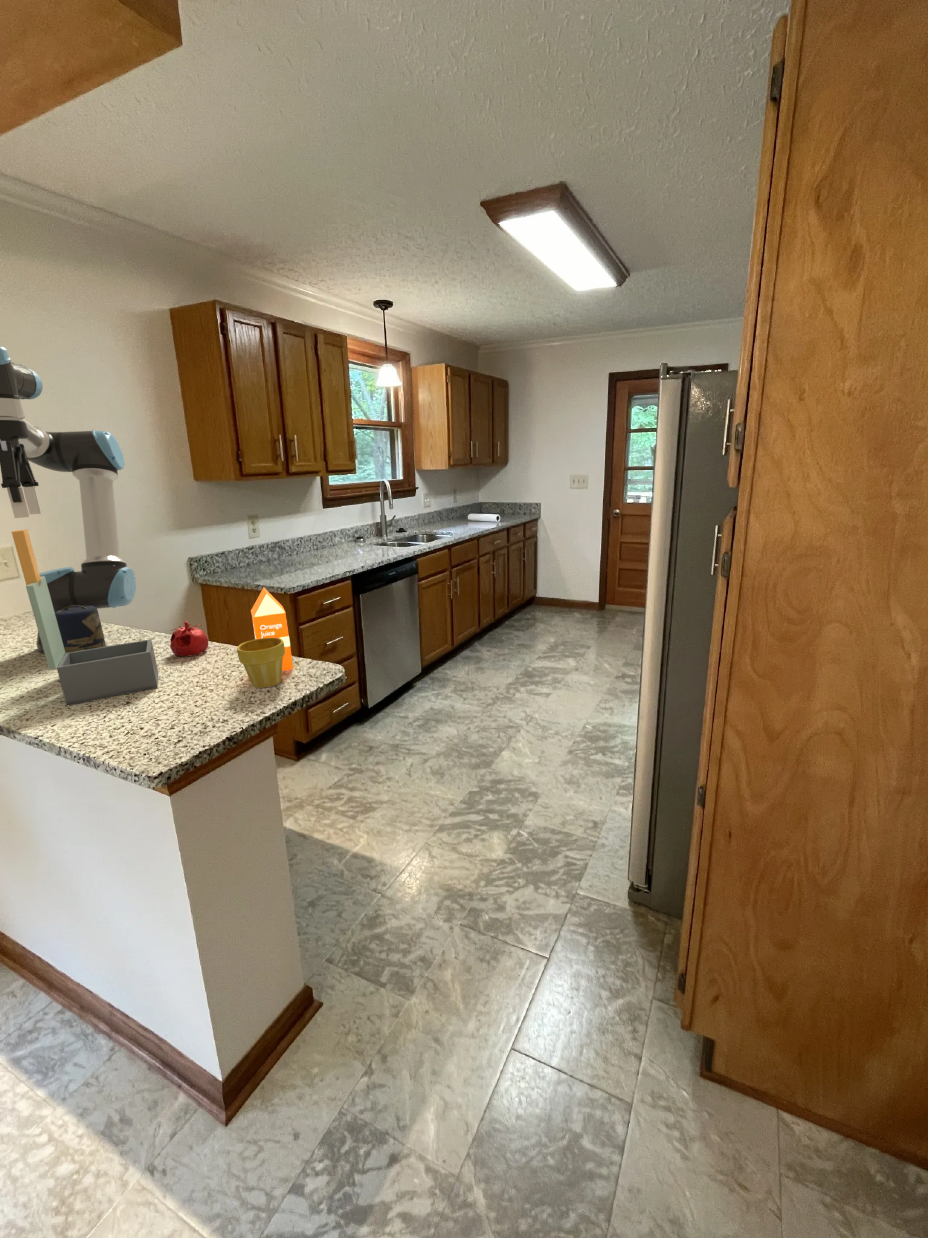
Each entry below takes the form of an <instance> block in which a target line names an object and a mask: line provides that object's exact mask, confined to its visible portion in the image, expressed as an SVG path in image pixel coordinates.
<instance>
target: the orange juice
mask: <svg viewBox="0 0 928 1238" xmlns="http://www.w3.org/2000/svg"><path fill="white" fill-rule="evenodd" d="M250 613H251V619H252V625H253V632H254V639H259V638H268V637H275V638H280V639H282V640H283V641H284V647H285V655H284V656H283V665H282V670H283V671H287V670H293V669H294V664H293V656H292V651H291V650H292V649H291V641H290V636H289V629H288V620H287V615H286V610H285V609H284V607H283V605H282V604H281V603H280V602H279V601H278V600H277V599H276V598H275V597H274V596H273V595H272V594H271V593H270V592H269V591H268V590H267V589H266V588H265V587H263V588H262V590H261V591H260V593H259V595H258V597H257V599H256V601H255V603H254V604H253V606H252V608H251V609H250Z"/></svg>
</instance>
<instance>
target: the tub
mask: <svg viewBox="0 0 928 1238" xmlns="http://www.w3.org/2000/svg"><path fill="white" fill-rule="evenodd" d="M56 671H57V674H58V678H59V681H60V685H61V689H62V693H63V697H64V700H65V704H66V706H68V705H69V706H73V705H79V704H82V703H88V702H94V701H98V700H104V699H108V698H114V697H119V696H124V695H130V694H134V693H139V692H145V691H149V690H154V689H158V688H159V669H158V665H157V660H156V655H155V651H154V645H153V642H152V639H151V638H150V639H144V640H138V641H132V642H131V641H130V642H126V643H120V644H118V643H117V644H112V645H108V646H107V645H106V647H100V648H94V649H87V650H81V651H75V652H69V653H65V655H64V656H63V657H62V659H61V661H60V662H59V664H58V666H57V668H56Z"/></svg>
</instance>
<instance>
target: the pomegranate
mask: <svg viewBox="0 0 928 1238" xmlns="http://www.w3.org/2000/svg"><path fill="white" fill-rule="evenodd" d="M183 623H184V626H183V625H180V626H178V628H177V627H176V628H174V629H171V631H173V632H172V634H171V636H170V639H169V641H170V645H169V648H170V649H171V652H172V653H173V654H174V655H176V656H178V657H179V656H180V657H186V656H187V657H192V656H196V655H197V656H198V655H201V652H202V653H204V652H205V651H207V649H208V648H209V638H208V636H207V633H206V632H205V631H204V630H203V629H200V628H198V626H199V627H200V626H202V624H197V625H194V626H191V623H189V621H184V622H183Z"/></svg>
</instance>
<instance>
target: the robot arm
mask: <svg viewBox="0 0 928 1238" xmlns="http://www.w3.org/2000/svg"><path fill="white" fill-rule="evenodd" d="M42 392H43V382H42V379H41V377H40V376H39V374H37V372H35V371H34V370H33V369H31V368H29V367H27V366H25V365H23V364H19V363H15V362H12V358H11V357H10V354H9V351H8V350H7V348H6V347H4V346H2V345H0V473H1V480H2V481H1V482H2V483H0V485H1V488H2V489H6V490H7V495H8V498H9V503H10V505H11V509H12V513H13V516H14V519H20V518H23V519H24V518H31V515H40V514H41V515H42V514H43V513H42V509H41V503H40V500H39V496H38V492H37V489H36V487H39V482H38V481H37V480H36V478H35V476H34V473H33V470H32V467H31V465H30V462H31V463H32V464H34V465H37V466H39V467H42V468H45V469H48V470H51V471H55V472H61V473H72V476H73V477H74V478H76V479H77V480H78V482H79V490H80V491H79V492H80V502H81V512H82V513H81V515H82V523H83V535H84V545H85V556H86V558H85V559H84V560H83V561H82V562H81V563H80V567H81V570H80V571H75V569H74V567H73V566H66V567H59V568H55V569H51V570H47V571H46V570H45V571H42V572H39V574H40V577H42V576H45V579H46V583H47V586H48V590H49V594H50V597H51V601H52V605H53V609H54V612H57V611H59V610H62V609H64V608H66V607H68V606H71V605H80V606H94V607H96V608H97V610H99V609H109V608H112V609H114V608H118V607H125V606H128V605H129V604H131V603H132V601H133V599H134V598H135V595H136V591H137V590H136V588H137V580H136V576H135V572H134V570H133V569H132V568H131V567H129V566H127V562H126V561H125V560H123V559H122V558H121V554H120V544H119V535H118V534H119V532H118V524H117V522H118V521H117V512H116V511H117V510H116V504H115V503H116V502H115V493H114V491H115V490H114V482H115V481H116V480H117V479H118V477H119V474H118V472H119V471H121V470H124V468H125V458H124V454H123V452H122V449H121V447H120V444H119V442H118V441H117V439H116V437H115V436H114V435H113V434H112V433H111V432H109V431H106V430H94V429H93V430H85V431H84V430H83V431H82V430H81V431H80V430H79V431H46V430H43V428H42V427H39V426H36V425H32V423H30V422H28V420H26V419H25V414H24V409H23V404H22V401H21V400H35V399H36V398H38V397H39V396H40V395H41V394H42ZM70 608H71V607H70ZM35 645H36V648H37V652H38V653H42V654H45V653H44V650H43V646H42V642H41V639H40V635H39V632H38V631H37V635H36V644H35Z"/></svg>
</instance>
